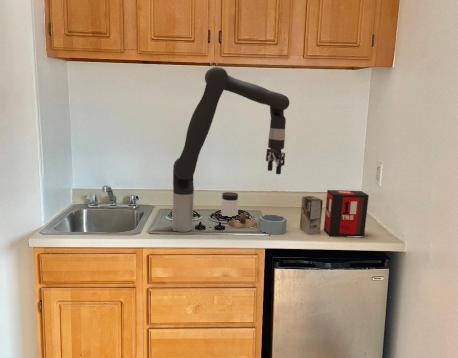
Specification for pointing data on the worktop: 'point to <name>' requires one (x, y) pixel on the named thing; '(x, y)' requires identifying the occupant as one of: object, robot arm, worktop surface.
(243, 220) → the lid
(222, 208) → the jar
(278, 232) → the bowl
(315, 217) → the coffee box
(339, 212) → the cleaning product box
